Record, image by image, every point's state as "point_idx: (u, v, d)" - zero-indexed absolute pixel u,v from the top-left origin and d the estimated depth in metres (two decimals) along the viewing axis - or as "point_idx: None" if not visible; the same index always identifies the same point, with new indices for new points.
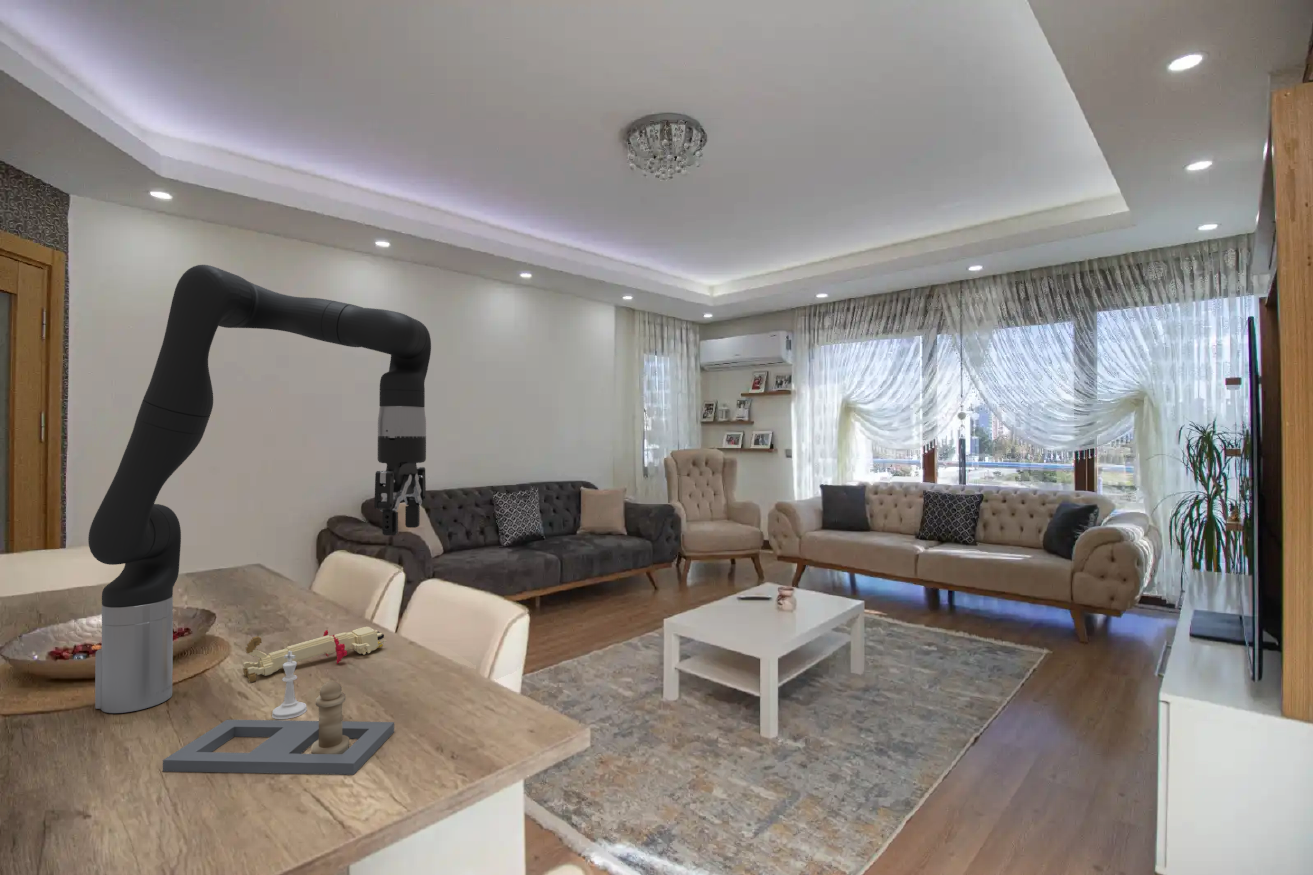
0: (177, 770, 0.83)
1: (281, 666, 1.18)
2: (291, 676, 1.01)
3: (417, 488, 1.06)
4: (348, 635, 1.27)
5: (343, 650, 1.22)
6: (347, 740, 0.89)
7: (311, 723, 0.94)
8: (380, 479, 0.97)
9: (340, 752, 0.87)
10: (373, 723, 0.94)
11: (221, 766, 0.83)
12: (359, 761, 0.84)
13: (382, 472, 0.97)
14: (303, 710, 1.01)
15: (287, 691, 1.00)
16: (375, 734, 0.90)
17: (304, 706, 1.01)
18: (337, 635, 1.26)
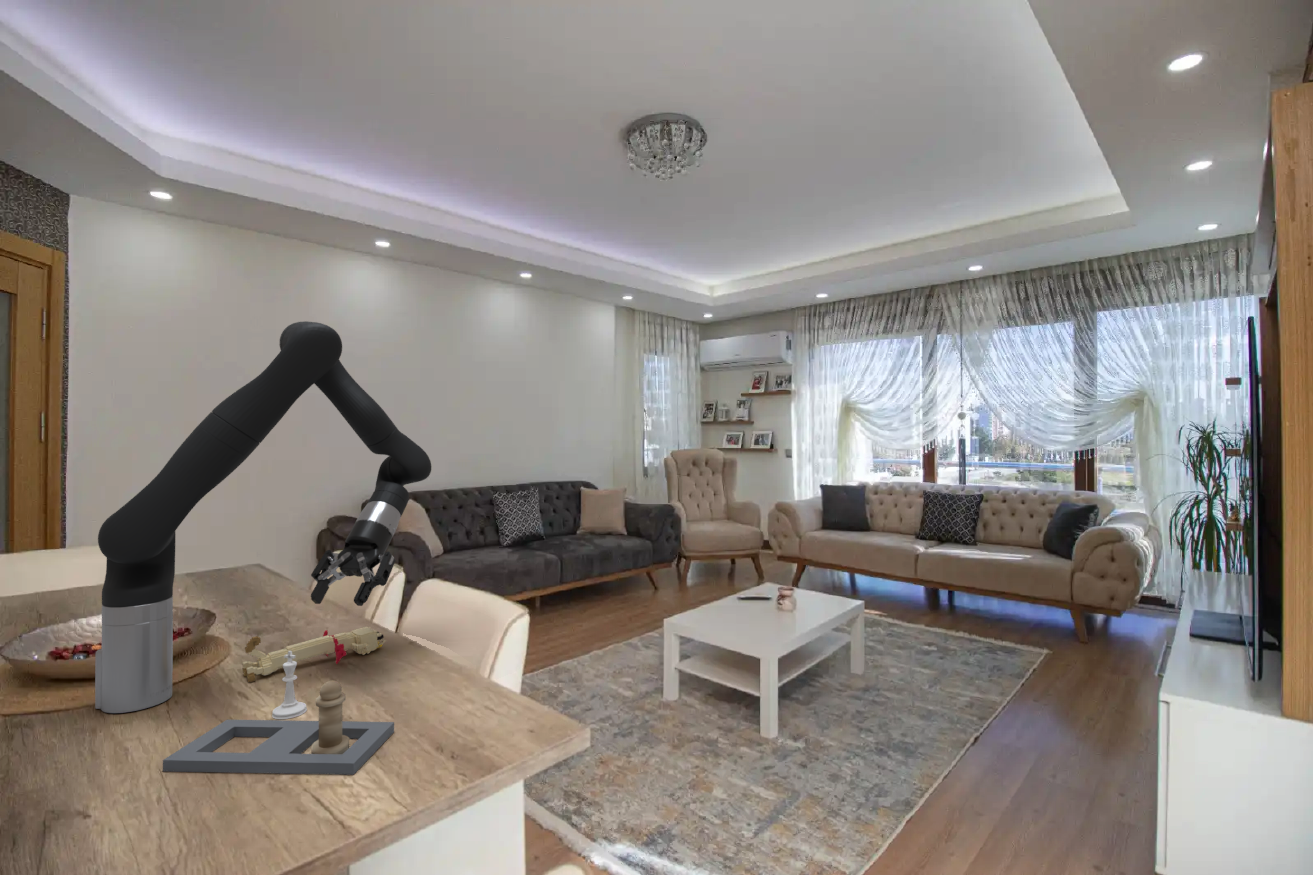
0: (177, 770, 0.83)
1: (280, 666, 1.18)
2: (291, 676, 1.01)
3: None
4: (348, 635, 1.26)
5: (342, 650, 1.22)
6: (347, 740, 0.89)
7: (311, 723, 0.94)
8: (390, 559, 1.17)
9: (340, 752, 0.87)
10: (373, 723, 0.94)
11: (221, 766, 0.83)
12: (359, 761, 0.84)
13: (392, 555, 1.18)
14: (303, 710, 1.01)
15: (287, 691, 1.00)
16: (375, 734, 0.90)
17: (304, 706, 1.01)
18: (337, 635, 1.26)
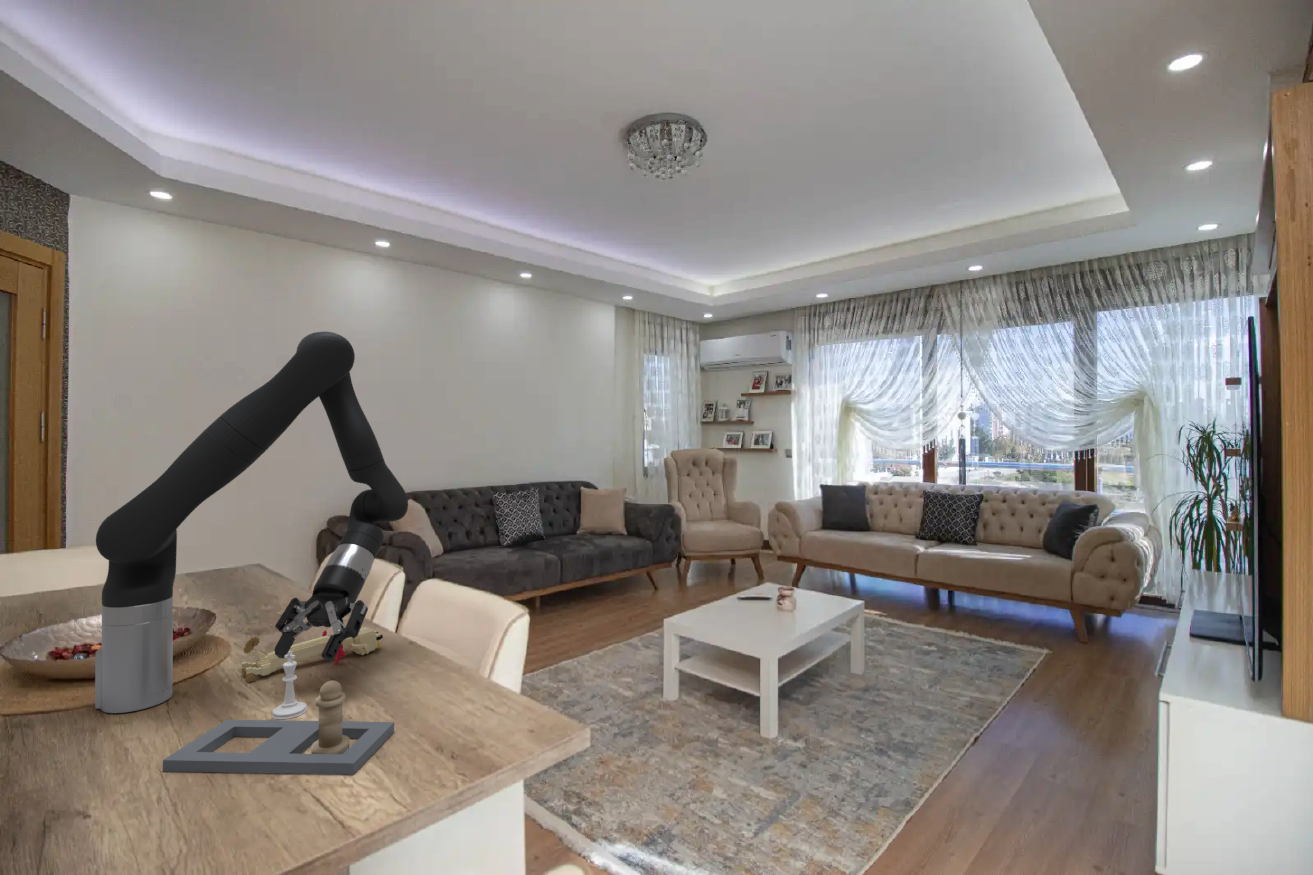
0: (177, 770, 0.83)
1: (279, 666, 1.18)
2: (291, 676, 1.01)
3: None
4: None
5: (341, 650, 1.22)
6: (347, 740, 0.89)
7: (311, 723, 0.94)
8: (362, 609, 1.09)
9: (340, 752, 0.87)
10: (373, 723, 0.94)
11: (221, 766, 0.83)
12: (359, 761, 0.84)
13: (364, 604, 1.10)
14: (303, 710, 1.01)
15: (287, 691, 1.00)
16: (375, 734, 0.90)
17: (304, 706, 1.01)
18: None
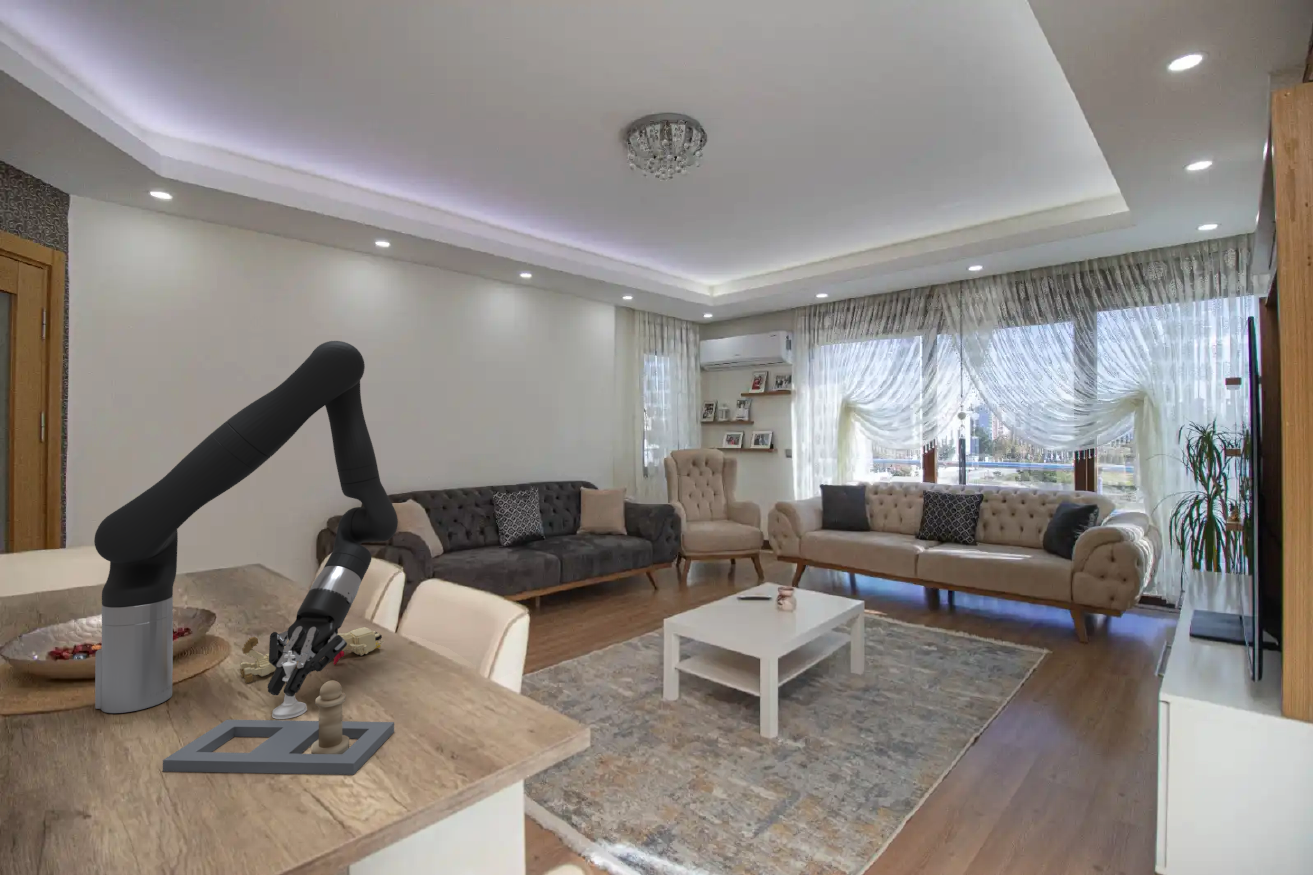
0: (177, 770, 0.83)
1: None
2: None
3: None
4: (346, 636, 1.26)
5: None
6: (347, 740, 0.89)
7: (311, 723, 0.94)
8: (337, 645, 1.04)
9: (340, 752, 0.87)
10: (373, 723, 0.94)
11: (221, 766, 0.83)
12: (359, 761, 0.84)
13: (343, 640, 1.04)
14: (303, 710, 1.01)
15: None
16: (375, 734, 0.90)
17: (304, 706, 1.01)
18: None
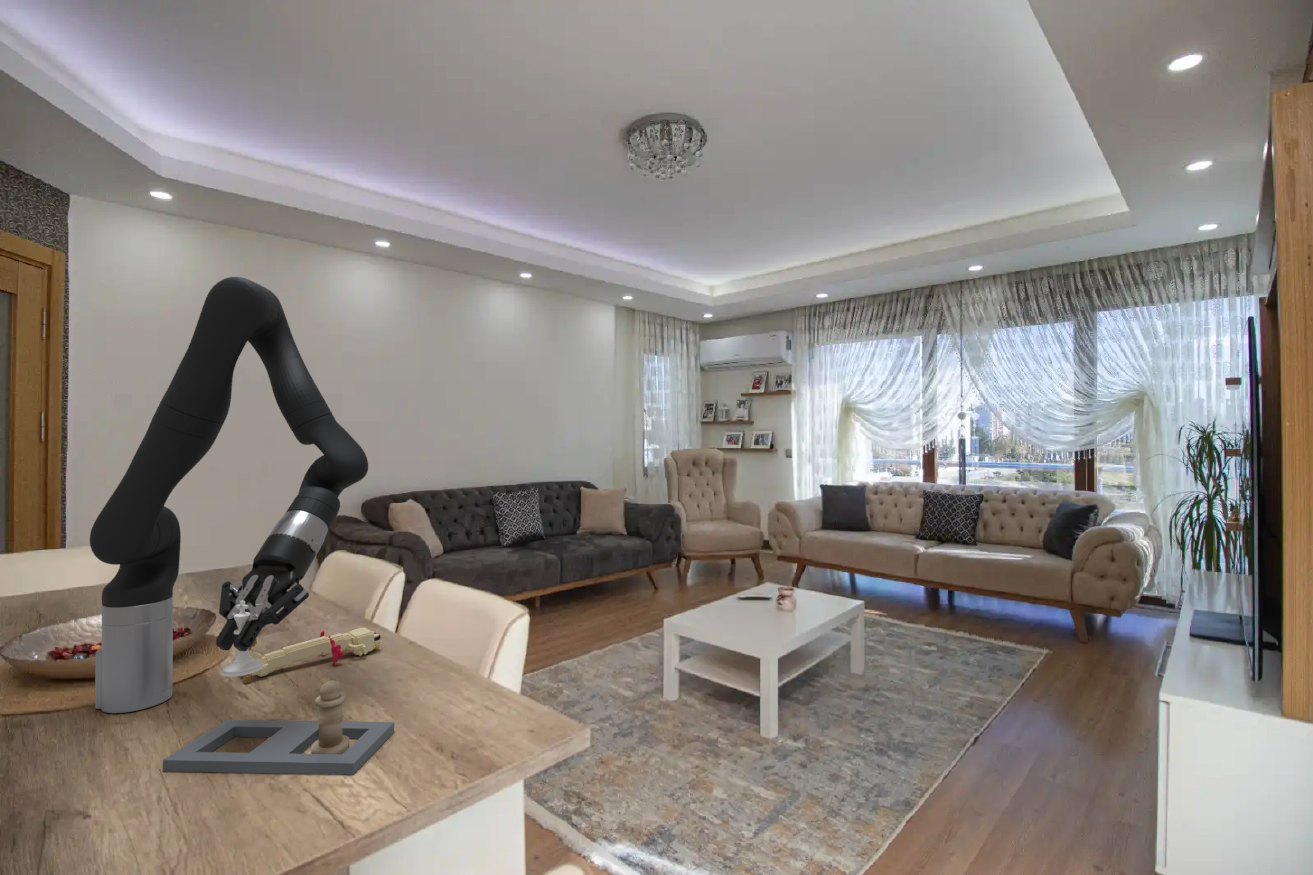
0: (177, 770, 0.83)
1: (277, 667, 1.17)
2: None
3: None
4: (344, 636, 1.26)
5: (339, 651, 1.22)
6: (347, 740, 0.89)
7: (311, 723, 0.94)
8: (297, 596, 0.92)
9: (340, 752, 0.87)
10: (373, 723, 0.94)
11: (221, 766, 0.83)
12: (359, 761, 0.84)
13: (304, 590, 0.92)
14: (258, 667, 0.89)
15: None
16: (375, 734, 0.90)
17: (259, 663, 0.90)
18: (333, 636, 1.25)
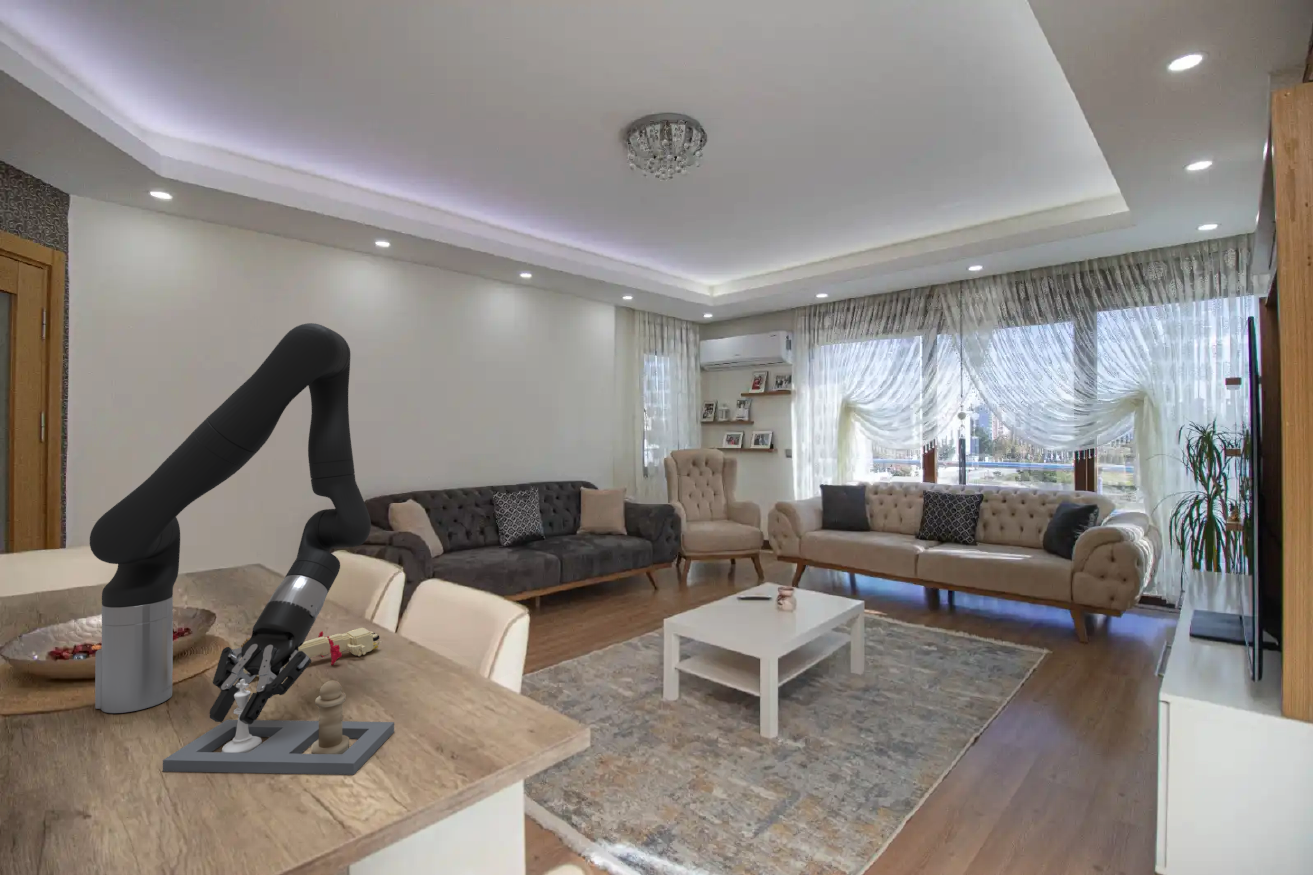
0: (177, 770, 0.83)
1: None
2: (243, 707, 0.89)
3: None
4: (343, 636, 1.26)
5: (338, 651, 1.21)
6: (347, 740, 0.89)
7: (311, 723, 0.94)
8: (301, 663, 0.92)
9: (340, 752, 0.87)
10: (373, 723, 0.94)
11: (221, 766, 0.83)
12: (359, 761, 0.84)
13: (307, 656, 0.93)
14: (257, 746, 0.89)
15: (239, 725, 0.88)
16: (375, 734, 0.90)
17: (259, 741, 0.90)
18: (332, 636, 1.25)
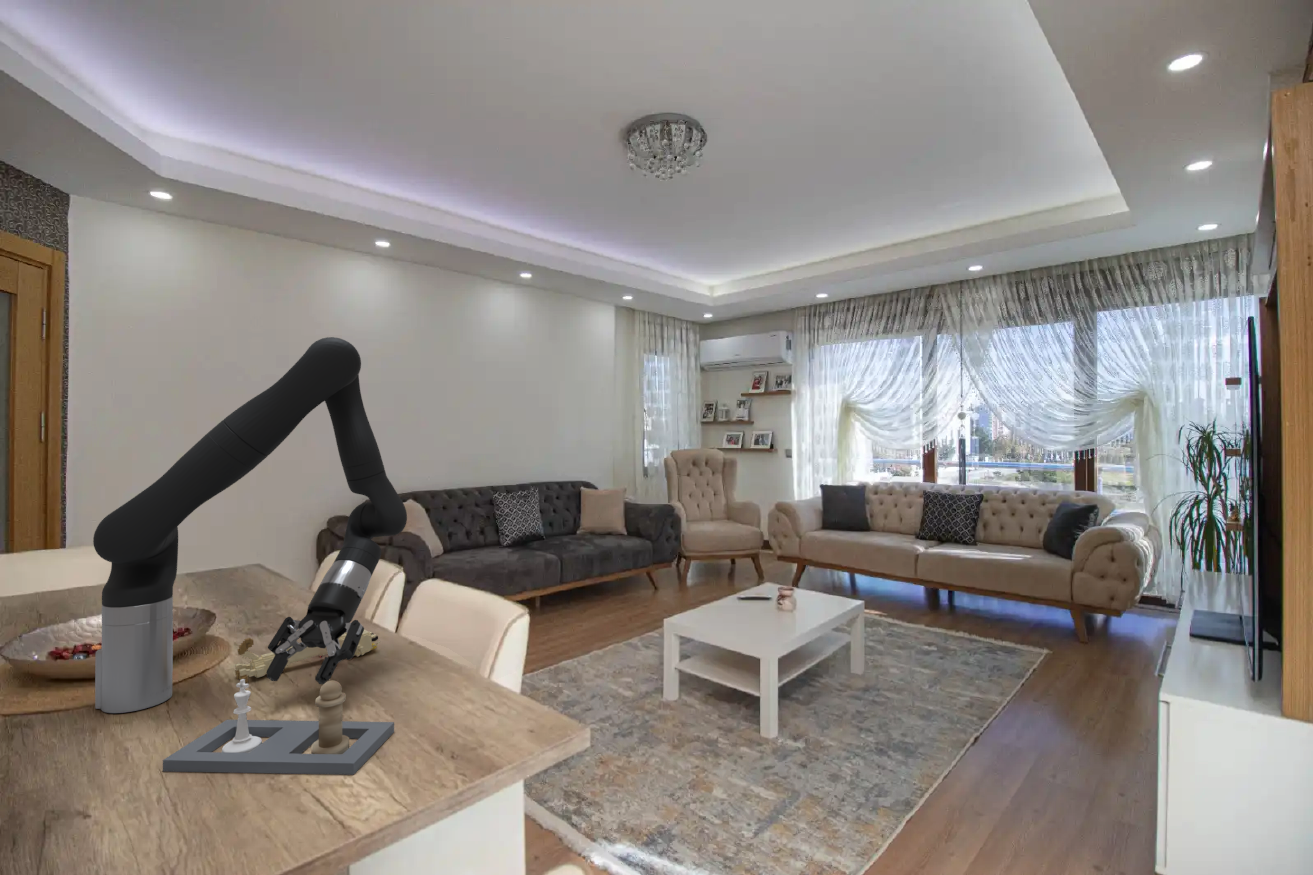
0: (177, 770, 0.83)
1: None
2: (243, 707, 0.89)
3: None
4: (342, 637, 1.25)
5: None
6: (347, 740, 0.89)
7: (311, 723, 0.94)
8: (358, 629, 1.05)
9: (340, 752, 0.87)
10: (373, 723, 0.94)
11: (221, 766, 0.83)
12: (359, 761, 0.84)
13: (360, 624, 1.06)
14: (257, 746, 0.89)
15: (239, 725, 0.88)
16: (375, 734, 0.90)
17: (259, 741, 0.90)
18: None
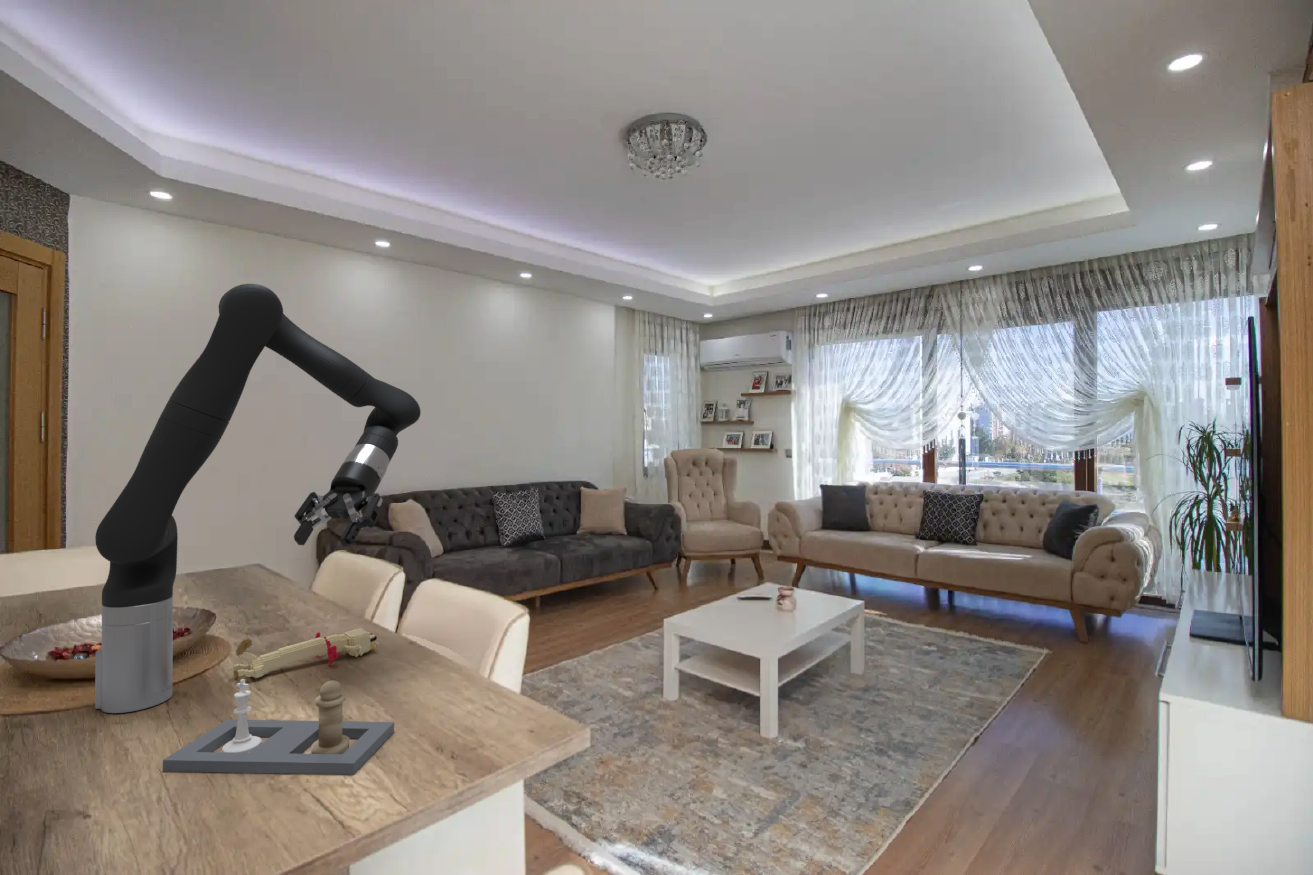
0: (177, 770, 0.83)
1: (272, 668, 1.17)
2: (243, 707, 0.89)
3: None
4: (340, 637, 1.25)
5: (335, 652, 1.21)
6: (347, 740, 0.89)
7: (311, 723, 0.94)
8: (379, 501, 1.12)
9: (340, 752, 0.87)
10: (373, 723, 0.94)
11: (221, 766, 0.83)
12: (359, 761, 0.84)
13: None
14: (257, 746, 0.89)
15: (239, 725, 0.88)
16: (375, 734, 0.90)
17: (259, 741, 0.90)
18: (329, 637, 1.24)
